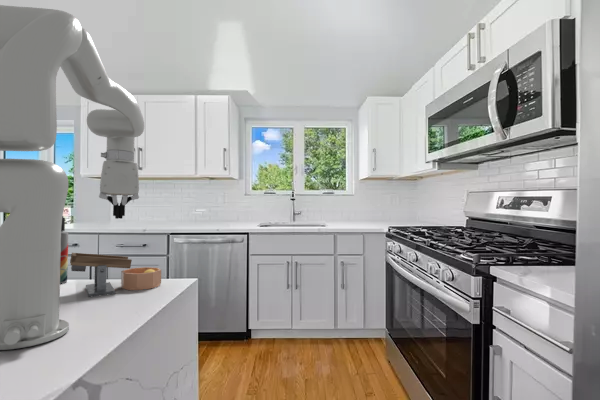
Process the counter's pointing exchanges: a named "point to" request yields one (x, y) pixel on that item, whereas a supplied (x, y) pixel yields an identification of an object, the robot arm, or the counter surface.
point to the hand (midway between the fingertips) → (118, 218)
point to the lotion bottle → (64, 253)
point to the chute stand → (100, 283)
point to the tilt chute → (97, 261)
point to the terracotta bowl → (140, 278)
